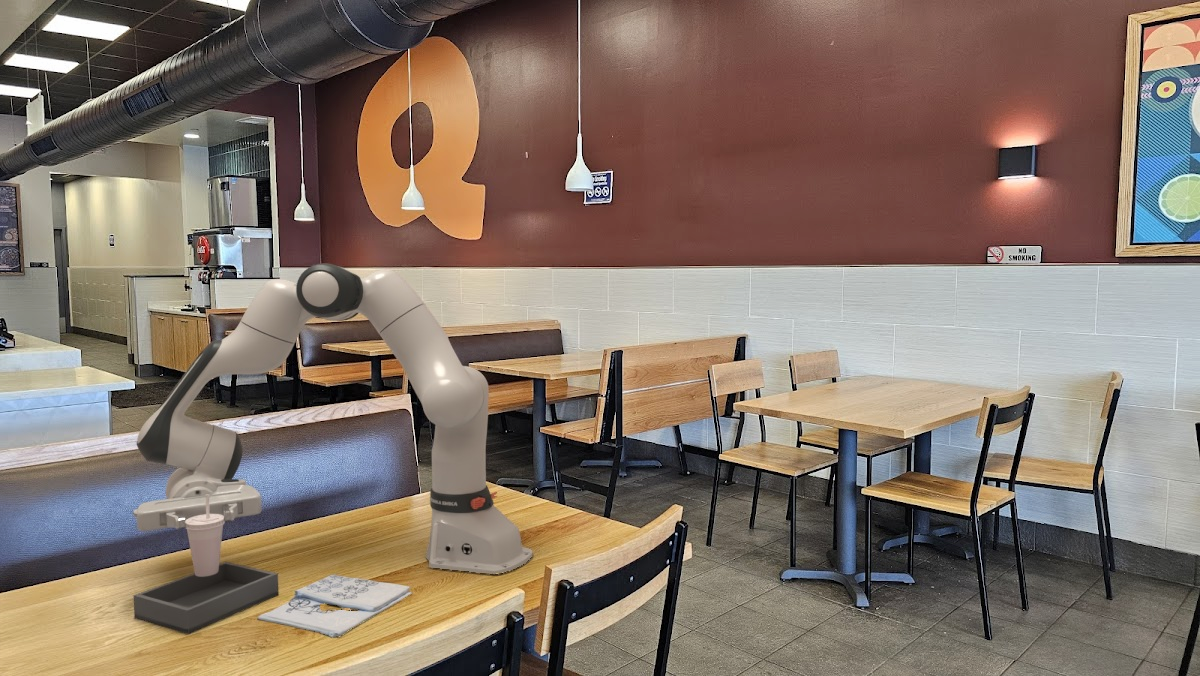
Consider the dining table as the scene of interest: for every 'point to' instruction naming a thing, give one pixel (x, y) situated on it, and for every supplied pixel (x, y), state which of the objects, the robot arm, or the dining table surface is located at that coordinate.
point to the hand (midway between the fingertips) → (205, 520)
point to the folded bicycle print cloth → (336, 592)
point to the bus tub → (205, 597)
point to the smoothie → (205, 541)
